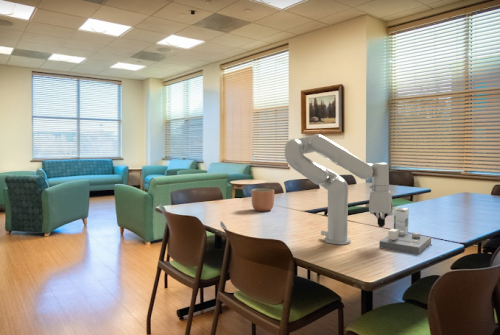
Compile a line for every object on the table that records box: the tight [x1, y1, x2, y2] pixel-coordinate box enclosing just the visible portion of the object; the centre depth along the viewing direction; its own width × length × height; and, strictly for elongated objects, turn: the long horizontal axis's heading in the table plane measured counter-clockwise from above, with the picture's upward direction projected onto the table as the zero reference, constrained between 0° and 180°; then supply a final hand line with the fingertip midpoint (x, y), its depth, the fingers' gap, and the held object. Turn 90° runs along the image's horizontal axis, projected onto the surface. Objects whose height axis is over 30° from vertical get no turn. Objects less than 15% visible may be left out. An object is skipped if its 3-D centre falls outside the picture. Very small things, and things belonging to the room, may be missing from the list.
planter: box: [250, 188, 275, 212], centre depth 265 cm, size 17×17×15 cm
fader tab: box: [387, 228, 398, 240], centre depth 169 cm, size 3×5×4 cm, turn 141°
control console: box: [379, 231, 432, 255], centre depth 169 cm, size 17×22×5 cm
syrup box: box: [393, 206, 410, 234], centre depth 188 cm, size 6×6×14 cm
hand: (381, 226), depth 173 cm, fingers closed
